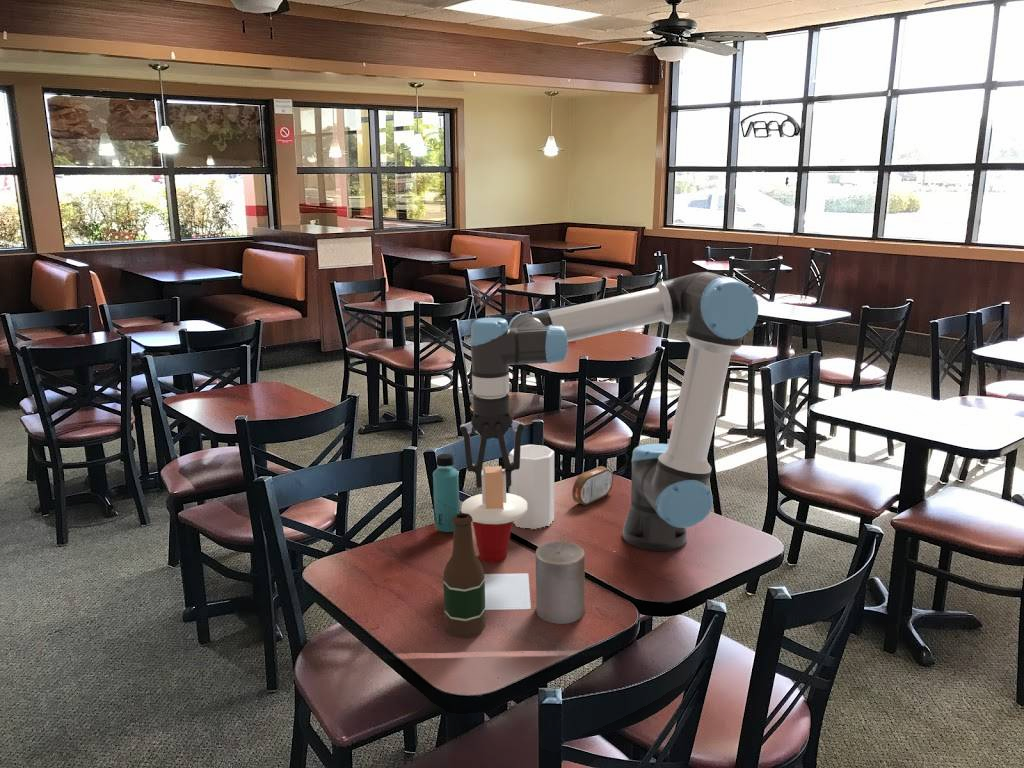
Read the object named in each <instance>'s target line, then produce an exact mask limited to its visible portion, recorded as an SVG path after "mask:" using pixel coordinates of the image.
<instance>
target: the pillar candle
mask: <svg viewBox="0 0 1024 768" xmlns="http://www.w3.org/2000/svg"><path fill="white" fill-rule="evenodd" d="M585 553H586V552H585V550H584V549H583V548H582V547H581V546H580V545H579V544H577V543H573V542H568V541H549V542H544V543H543V544H541V545H540V546H538V547H537V548H536V550H535V597H536V598H535V599H536V601H535V604H536V606H535V607H536V609H535V611H536V614H537V616H538V617H539V618H540V619H541V620H543V621H545V622H547V623H552V624H557V625H558V624H562V625H564V624H565V625H566V624H571V623H575V622H576V621H577V622H578V621H579V620H581V619H582V618H583V617H584V615H585V613H586V598H585V597H586V593H585V592H586V591H585V590H586V589H585V588H586V587H585V586H586V585H585V584H586V583H585V581H586V580H585V579H586V578H585V575H586V574H585V571H586V569H585V568H586V567H585V561H586V560H585V559H586V558H585V557H586V556H585Z"/></svg>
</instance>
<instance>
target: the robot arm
mask: <svg viewBox="0 0 1024 768" xmlns="http://www.w3.org/2000/svg"><path fill="white" fill-rule="evenodd" d="M758 316H759V303H758V299H757V296H756V295H755V293H754V291H753V290H752V289H751V288H750V286H748V285H747V284H746V283H743V282H742V281H740V280H739V279H737V278H733V277H730V276H729V277H728V276H724V275H720V274H718V273H715V272H710V271H709V272H708V271H703V272H695V273H691V274H687V275H683V276H679V277H675V278H672V279H667V280H663V281H659V282H658V283H657V284H656V285H655V287H652V288H648V289H643V290H640V291H635V292H629V293H625V294H621V295H617V296H611V297H607V298H602V299H597V300H593V301H589V302H585V303H579V304H576V305H570V306H565V307H561V308H555V309H553V310H548V311H543V312H539V313H534V314H532V313H526V312H523V313H519V314H517V315H515V316H514V317H512V318H511V320H510V321H509V322H508V320H506V319H505V318H502V317H482V318H478V319H475V320H473V322H472V323H471V325H470V351H471V352H470V353H471V355H470V356H471V359H470V360H471V372H472V373H471V380H472V381H471V382H472V393H473V394H474V395H473V397H472V408H473V409H472V411H473V413H472V414H473V416H472V417H471V421H469V422H467V423H461V424H460V426H459V428H460V429H459V430H460V433H461V435H462V436H463V440H464V441H463V442H464V452H465V461H466V463H465V464H466V469H467V471H468V472H473V473H474V474H475V485H476V488H477V489H479V488H481V494H482V504H486V491H485V469H483V466H484V465H483V464H484V459H485V455H486V454H485V453H486V447H487V446H486V445H487V442H488V441H487V440H489V439H496V440H498V443H499V447H500V449H499V450H500V452H501V456H502V457H501V458H502V461H503V465H504V466H503V467H504V468H502V481H503V503H506V493H507V488H508V487H510V486H511V472H512V471H513V470H518V469H519V468H520V447H521V446H522V445H521V442H522V441H521V440H522V434H523V431H524V430H525V425H524V422H523V421H522V420H520V421H517V420H514V419H513V417H512V415H511V399H510V398H511V397H510V395H509V392H510V366H512V365H514V366H515V365H516V366H517V365H534V364H535V365H536V364H554V363H560V362H561V363H562V362H564V361H565V360H566V359H567V357H568V350H569V342H573V341H578V340H583V339H586V338H591V337H595V336H601V335H604V334H609V333H614V332H618V331H622V330H627V329H633V328H637V327H641V326H645V325H646V326H647V325H649V324H654V323H659V322H662V323H664V324H666V325H671V324H677V323H687V327H686V329H685V330H686V331H685V337H686V338H687V339H686V340H687V341H688V342H689V344H690V346H689V350H688V354H687V360H686V364H685V369H684V373H683V378H682V381H681V382H682V383H681V385H680V386H681V387H680V390H679V391H680V392H679V396H678V400H677V405H676V409H675V413H674V418H673V423H672V428H671V432H670V435H669V441H668V443H646V444H641V445H637V446H636V447H635V448H634V449H633V451H632V457H631V490H630V491H631V493H630V494H631V495H630V499H631V501H630V507H629V510H628V513H627V515H626V519H625V520H624V523H623V526H622V527H623V528H622V538H623V540H624V541H625V542H627V544H629V545H631V546H633V547H634V548H637V549H641V550H645V551H653V552H663V551H664V552H665V551H667V552H668V551H672V550H676V549H678V548H681V547H683V546H684V545H685V544H686V543H687V539H688V531H687V528H692V527H694V526H697V524H699V523H700V522H703V521H704V520H705V519H706V518H707V517H708V516H709V514H710V512H711V510H712V508H713V502H714V498H713V494H712V490H711V488H710V486H708V485H709V483H710V478H711V474H712V466H711V465H710V463H709V462H708V460H707V458H708V454H709V451H710V450H709V449H710V446H711V442H712V437H713V433H714V430H715V424H716V420H717V416H718V413H719V407H720V404H721V399H722V395H723V390H724V386H725V382H726V378H727V374H728V369H729V365H730V360H731V358H732V357H731V356H732V354H733V353H734V352H735V351H736V350H738V349H740V348H741V347H742V344H743V339H744V336H745V335H747V333H749V331H752V329H753V328H754V326H755V325H756V323H757V319H758ZM511 427H512V431H513V432H514V433H513V434H514V438H513V449H514V459H513V462H512V463H510V461H509V451H508V448H507V444H506V438H505V435H506V433H507V431H508V430H509V429H510V428H511ZM473 428H474V430H475V431H476V432H477V433H478V434H479V436H480V439H479V445H478V452H477V458H476V464H475V463H473V462H474V461H473V452H472V444H471V442H472V441H471V434H472V430H473Z"/></svg>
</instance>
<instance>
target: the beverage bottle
mask: <svg viewBox="0 0 1024 768" xmlns="http://www.w3.org/2000/svg"><path fill="white" fill-rule="evenodd" d="M454 463H455V462H454V455H453V454H450V453H441V454H438V455H437V456H436V463H435V464H436V466H438V467H437V468H436V469H435V470H434V471H433V472H432V478H433V479H432V480H433V482H432V483H433V484H432V485H433V487H432V488H433V491H432V492H433V506H434V509H433V511H434V517H433V518H434V521H433V522H434V526H435V529H436V530H437V531H440V532H444V533H445V532H446V533H449V532H454V523H453V522H452V520H453V517H454V516H455V515H456V514H459V513H461V507H460V506H461V504H460V489H459V488H460V486H459V484H460V483H459V474H460V472H459V471H458V469H456V468H455V467H453V465H454Z"/></svg>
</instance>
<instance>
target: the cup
mask: <svg viewBox="0 0 1024 768" xmlns="http://www.w3.org/2000/svg"><path fill="white" fill-rule="evenodd" d="M508 456H509V461H510V463H512V462H513V459H514V448H512V450H511V451H510V452H508ZM509 493H510V494H514V495H517V496H520V497H522V498H523V499H525V500H526V502H527V513H526V514H525V515H524V516H523V517H522V518H520V519H518V520H515V521H514V524H515V527H517V528H518V527H520V528H519V529H525V528H531V529H530V530H533V529H535V530H537V529H536V528H539V529H542V528H541V527H544V528H546V527H545V526H548V527H550V526H551V525H552V523H553V522H552V521H554V520H555V451H554V449H551V448H549V447H548V446H546V445H541V444H539V445H537V444H525V445H521V447H520V468H519V469H518V470H513V471H512V472H511V486H509ZM514 524H513V525H514ZM550 524H551V525H550Z"/></svg>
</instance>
